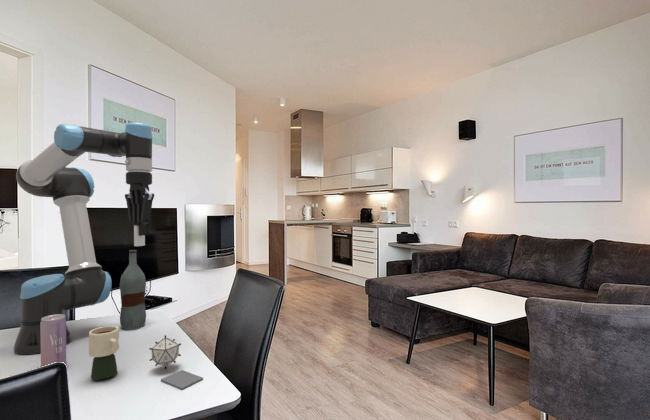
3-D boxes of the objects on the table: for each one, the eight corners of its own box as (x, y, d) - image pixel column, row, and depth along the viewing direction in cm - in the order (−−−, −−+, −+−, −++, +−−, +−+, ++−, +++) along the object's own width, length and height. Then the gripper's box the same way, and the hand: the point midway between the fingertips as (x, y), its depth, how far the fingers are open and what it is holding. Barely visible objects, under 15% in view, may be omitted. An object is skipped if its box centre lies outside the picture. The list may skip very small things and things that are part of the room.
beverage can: (62, 362, 109) (62, 312, 109) (69, 367, 106) (68, 316, 105) (38, 369, 105) (37, 317, 105) (44, 375, 101) (43, 321, 101)
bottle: (124, 323, 146) (124, 249, 146) (149, 322, 148) (148, 248, 147) (115, 331, 137) (115, 252, 136) (142, 330, 138) (141, 251, 138)
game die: (169, 377, 99) (168, 341, 99) (141, 375, 101) (141, 339, 101) (187, 364, 108) (187, 330, 108) (162, 361, 110) (162, 328, 110)
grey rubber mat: (160, 381, 97) (160, 379, 97) (182, 372, 103) (182, 369, 103) (181, 390, 92) (181, 388, 92) (203, 380, 98) (203, 377, 98)
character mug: (128, 376, 100) (128, 329, 100) (102, 387, 94) (101, 337, 94) (106, 367, 106) (106, 323, 106) (79, 377, 99) (79, 330, 99)
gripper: (116, 172, 117) (116, 245, 117) (139, 169, 110) (139, 248, 110) (139, 174, 123) (139, 243, 123) (162, 172, 116) (162, 245, 116)
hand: (139, 245), depth 116 cm, fingers closed
